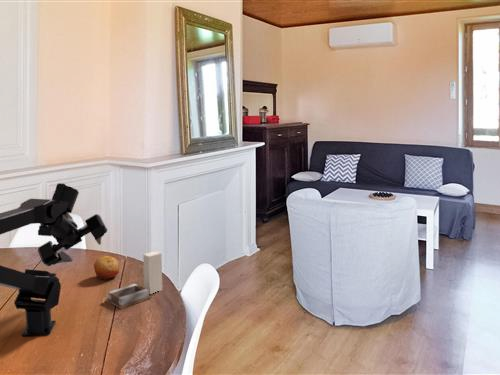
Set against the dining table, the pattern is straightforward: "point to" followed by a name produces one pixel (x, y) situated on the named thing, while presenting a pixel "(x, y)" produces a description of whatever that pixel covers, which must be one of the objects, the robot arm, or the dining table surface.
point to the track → (128, 296)
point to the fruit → (106, 267)
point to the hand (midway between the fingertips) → (85, 251)
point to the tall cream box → (152, 271)
